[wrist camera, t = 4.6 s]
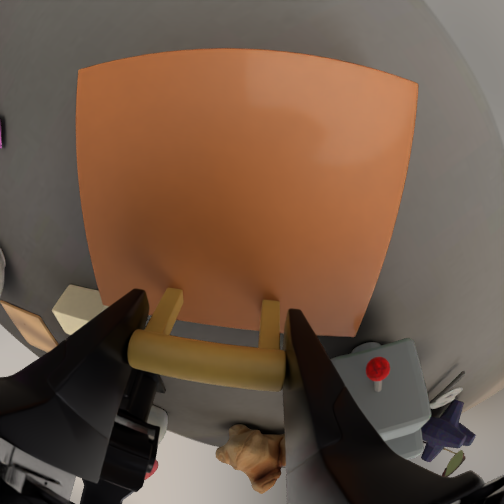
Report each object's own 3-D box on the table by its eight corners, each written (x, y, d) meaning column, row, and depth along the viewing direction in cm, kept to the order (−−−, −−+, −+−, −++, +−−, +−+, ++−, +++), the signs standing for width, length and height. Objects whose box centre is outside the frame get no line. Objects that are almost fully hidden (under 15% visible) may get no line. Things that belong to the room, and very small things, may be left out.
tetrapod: (420, 428, 37) (439, 468, 27) (393, 425, 34) (414, 475, 24) (462, 392, 34) (486, 432, 24) (444, 384, 31) (474, 433, 20)
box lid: (352, 328, 12) (373, 409, 8) (107, 298, 13) (63, 361, 8) (411, 84, 7) (495, 77, 3) (86, 70, 7) (1, 67, 3)
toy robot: (325, 409, 35) (241, 291, 17) (421, 385, 30) (468, 226, 12) (328, 486, 25) (220, 510, 7) (434, 462, 21) (557, 419, 3)
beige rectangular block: (121, 317, 22) (107, 346, 19) (80, 307, 22) (65, 333, 20) (111, 292, 20) (94, 323, 18) (69, 283, 20) (51, 309, 18)
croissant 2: (266, 499, 25) (203, 471, 27) (248, 480, 39) (204, 458, 41) (305, 433, 33) (246, 405, 35) (277, 433, 46) (235, 411, 48)
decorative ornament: (150, 398, 34) (126, 485, 22) (182, 415, 37) (165, 496, 25) (123, 401, 38) (101, 473, 26) (152, 417, 41) (134, 485, 29)
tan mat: (69, 359, 31) (68, 361, 31) (29, 341, 31) (28, 343, 31) (39, 315, 25) (38, 318, 25) (1, 299, 26) (0, 301, 25)
